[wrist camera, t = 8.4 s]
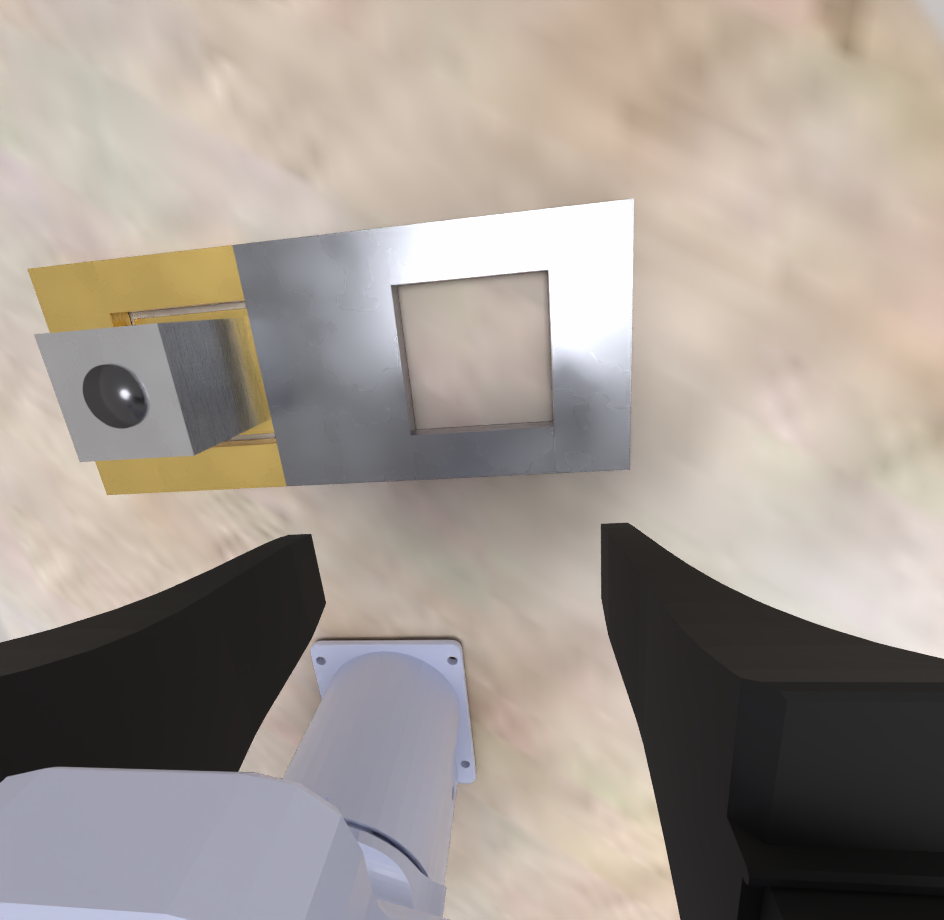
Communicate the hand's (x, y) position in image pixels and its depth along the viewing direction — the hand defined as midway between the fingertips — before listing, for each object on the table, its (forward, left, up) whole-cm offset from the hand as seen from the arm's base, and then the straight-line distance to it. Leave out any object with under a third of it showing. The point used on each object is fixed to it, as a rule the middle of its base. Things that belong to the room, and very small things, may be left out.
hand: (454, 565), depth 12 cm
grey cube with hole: (+4, +12, -10) cm, 16 cm away
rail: (+4, +6, -10) cm, 12 cm away
